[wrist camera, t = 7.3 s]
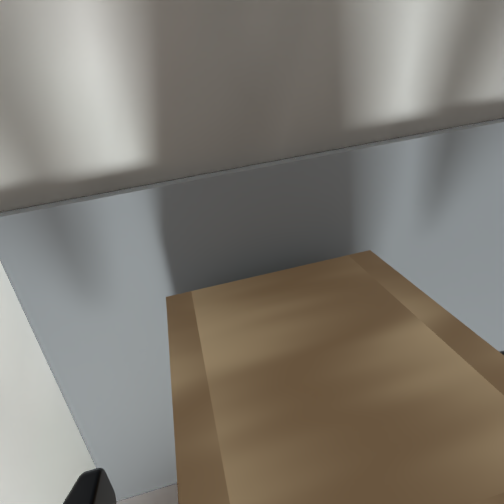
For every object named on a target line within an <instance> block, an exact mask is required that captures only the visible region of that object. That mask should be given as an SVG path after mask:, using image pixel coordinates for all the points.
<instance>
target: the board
mask: <svg viewBox="0 0 504 504" xmlns="http://www.w3.org/2000/svg"><path fill="white" fill-rule="evenodd" d="M368 250H371V251H372V252H373V253H374V254H376V255H377V256H378V257H380V258H381V259H382V260H383V261H385V262H386V263H387V264H388V265H390V266H391V267H392V268H393V269H395V270H396V271H397V272H399V273H400V274H401V275H402V276H404V277H405V278H406V279H407V280H409V281H410V282H411V283H412V284H414V285H415V286H416V287H418V288H419V289H420V290H421V291H423V292H424V293H425V294H426V295H428V296H429V297H430V298H432V299H433V300H434V301H435V302H437V303H438V304H439V305H440V306H442V307H443V308H444V309H445V310H447V311H448V312H449V313H451V314H452V315H453V316H454V317H456V318H457V319H458V320H459V321H461V322H462V323H463V324H465V325H466V326H467V327H468V328H470V329H471V330H472V331H473V332H475V333H476V334H477V335H478V336H480V337H481V338H482V339H484V340H485V341H486V342H487V343H489V344H490V345H491V346H492V347H494V348H495V349H496V350H498V351H504V118H502V119H497V120H492V121H486V122H481V123H476V124H470V125H465V126H460V127H454V128H449V129H444V130H438V131H433V132H428V133H422V134H417V135H412V136H406V137H401V138H396V139H390V140H385V141H380V142H374V143H369V144H364V145H358V146H353V147H348V148H342V149H337V150H332V151H326V152H321V153H316V154H310V155H305V156H300V157H294V158H289V159H284V160H278V161H273V162H268V163H262V164H257V165H252V166H246V167H241V168H236V169H230V170H225V171H220V172H214V173H209V174H204V175H198V176H193V177H188V178H182V179H177V180H172V181H166V182H161V183H156V184H150V185H145V186H140V187H134V188H129V189H123V190H118V191H113V192H107V193H102V194H97V195H91V196H86V197H81V198H75V199H70V200H65V201H59V202H54V203H49V204H43V205H38V206H33V207H27V208H22V209H17V210H11V211H6V212H1V213H0V261H1V263H2V265H3V268H4V270H5V272H6V274H7V276H8V278H9V281H10V283H11V285H12V287H13V289H14V291H15V293H16V296H17V298H18V300H19V302H20V304H21V306H22V309H23V311H24V313H25V315H26V317H27V319H28V322H29V324H30V326H31V328H32V330H33V332H34V334H35V337H36V339H37V341H38V343H39V345H40V347H41V350H42V352H43V354H44V356H45V358H46V360H47V363H48V365H49V367H50V369H51V371H52V373H53V375H54V378H55V380H56V382H57V384H58V386H59V388H60V391H61V393H62V395H63V397H64V399H65V401H66V404H67V406H68V408H69V410H70V412H71V414H72V416H73V419H74V421H75V423H76V425H77V427H78V429H79V432H80V434H81V436H82V438H83V440H84V442H85V445H86V447H87V449H88V451H89V453H90V455H91V457H92V460H93V462H94V464H95V466H96V468H103V469H104V470H105V471H106V474H107V476H108V478H109V480H110V482H111V485H112V487H113V489H114V492H115V495H116V502H118V501H121V500H124V499H127V498H131V497H134V496H137V495H140V494H144V493H147V492H150V491H154V490H157V489H160V488H163V487H167V486H170V485H173V484H176V483H177V470H176V454H175V438H174V421H173V405H172V389H171V373H170V356H169V340H168V324H167V307H166V297H168V296H172V295H177V294H181V293H185V292H190V291H194V290H198V289H203V288H207V287H211V286H216V285H220V284H224V283H229V282H233V281H237V280H242V279H246V278H250V277H255V276H259V275H264V274H268V273H272V272H277V271H281V270H285V269H290V268H294V267H298V266H303V265H307V264H311V263H316V262H320V261H324V260H329V259H333V258H337V257H342V256H346V255H351V254H355V253H359V252H364V251H368Z"/></svg>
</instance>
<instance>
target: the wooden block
mask: <svg viewBox="0 0 504 504" xmlns="http://www.w3.org/2000/svg"><path fill="white" fill-rule="evenodd" d="M166 307H167V324H168V340H169V356H170V373H171V389H172V405H173V421H174V438H175V454H176V470H177V487H178V503H179V504H504V355H503V354H501V353H500V352H499V351H498V350H496V349H495V348H494V347H492V346H491V345H490V344H489V343H487V342H486V341H485V340H484V339H482V338H481V337H480V336H478V335H477V334H476V333H475V332H473V331H472V330H471V329H470V328H468V327H467V326H466V325H465V324H463V323H462V322H461V321H459V320H458V319H457V318H456V317H454V316H453V315H452V314H451V313H449V312H448V311H447V310H445V309H444V308H443V307H442V306H440V305H439V304H438V303H437V302H435V301H434V300H433V299H432V298H430V297H429V296H428V295H426V294H425V293H424V292H423V291H421V290H420V289H419V288H418V287H416V286H415V285H414V284H412V283H411V282H410V281H409V280H407V279H406V278H405V277H404V276H402V275H401V274H400V273H399V272H397V271H396V270H395V269H393V268H392V267H391V266H390V265H388V264H387V263H386V262H385V261H383V260H382V259H381V258H380V257H378V256H377V255H376V254H374V253H373V252H372V251H371V250H368V251H364V252H359V253H355V254H351V255H346V256H342V257H337V258H333V259H329V260H324V261H320V262H316V263H311V264H307V265H303V266H298V267H294V268H290V269H285V270H281V271H277V272H272V273H268V274H264V275H259V276H255V277H250V278H246V279H242V280H237V281H233V282H229V283H224V284H220V285H216V286H211V287H207V288H203V289H198V290H194V291H190V292H185V293H181V294H177V295H172V296H168V297H166Z"/></svg>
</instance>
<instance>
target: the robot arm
mask: <svg viewBox="0 0 504 504" xmlns="http://www.w3.org/2000/svg"><path fill="white" fill-rule="evenodd" d="M499 352H500V353H501V354H503V355H504V351H499ZM63 504H116V495H115V492H114V489H113V487H112V485H111V482H110V480H109V478H108V476H107V474H106V471H105V470H104V469H103V468H96V469H93V470H90V471H86V472H84V473H82V474H81V475H80V477H79V478H78V480H77V481H76V483H75V485H74V486H73V488H72V490H71V491H70V493H69V494H68V496H67V498H66V499H65V501H64V503H63Z"/></svg>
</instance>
